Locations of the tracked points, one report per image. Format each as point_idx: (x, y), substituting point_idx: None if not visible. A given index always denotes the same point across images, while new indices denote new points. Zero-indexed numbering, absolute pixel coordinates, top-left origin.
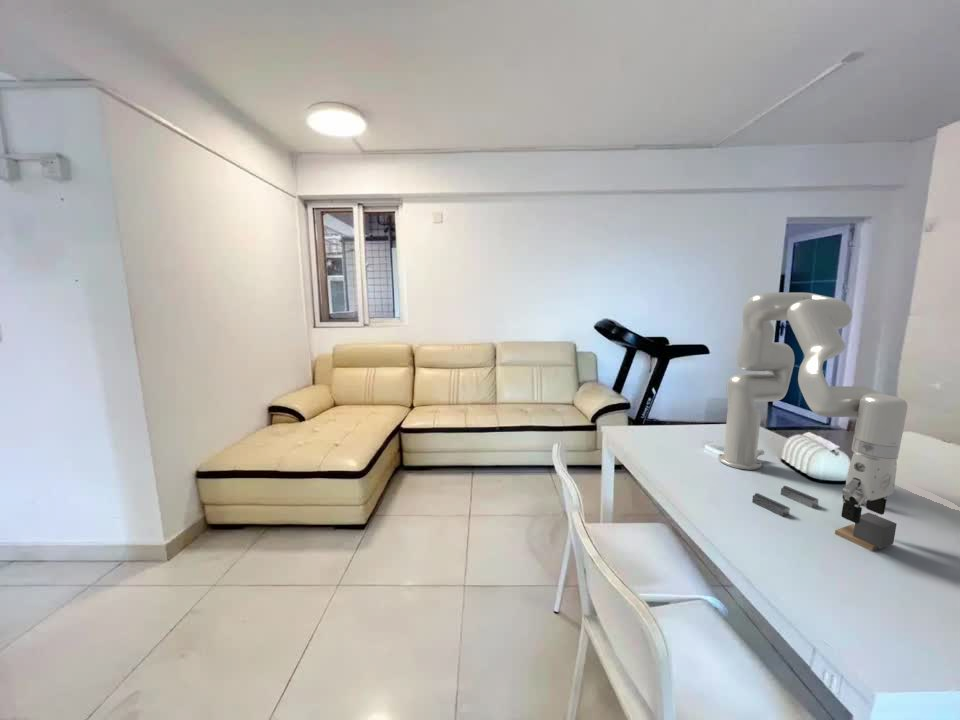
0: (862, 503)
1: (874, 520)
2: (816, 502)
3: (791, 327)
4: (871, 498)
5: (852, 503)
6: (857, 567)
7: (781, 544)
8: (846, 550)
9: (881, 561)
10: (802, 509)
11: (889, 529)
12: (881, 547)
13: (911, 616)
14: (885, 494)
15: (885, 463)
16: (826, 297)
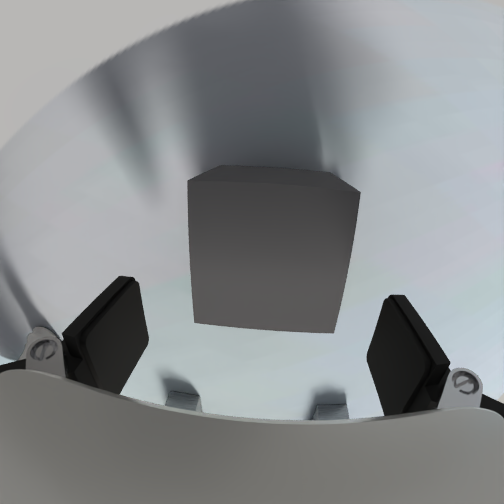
0: (45, 330)
1: (288, 267)
2: (175, 403)
3: None
4: (499, 421)
5: (493, 400)
6: (486, 181)
7: (496, 326)
8: (418, 239)
9: (392, 144)
10: (238, 403)
11: (277, 180)
12: (323, 172)
13: None
14: (159, 441)
15: None
16: None
